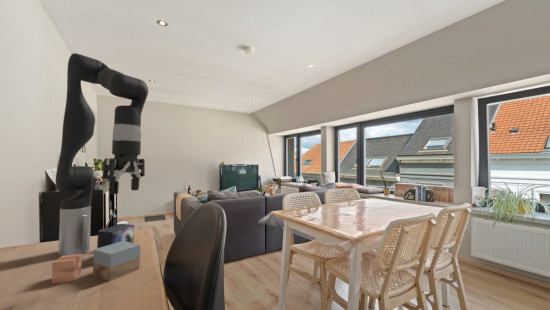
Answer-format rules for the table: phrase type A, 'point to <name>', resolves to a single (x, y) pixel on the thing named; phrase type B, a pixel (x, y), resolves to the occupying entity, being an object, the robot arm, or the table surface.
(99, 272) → the tower base
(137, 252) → the tower top
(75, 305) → the table surface
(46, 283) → the table surface
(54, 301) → the table surface
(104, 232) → the small box
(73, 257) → the terracotta block
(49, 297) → the table surface
